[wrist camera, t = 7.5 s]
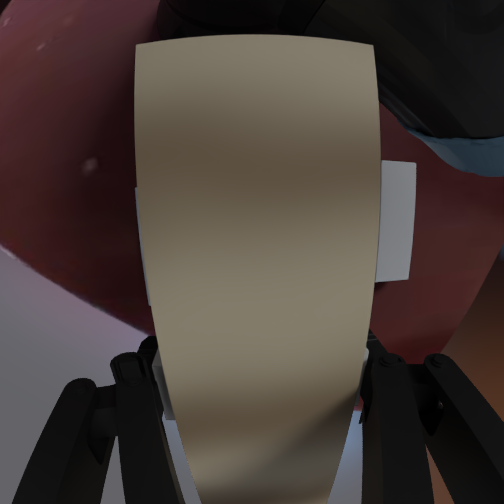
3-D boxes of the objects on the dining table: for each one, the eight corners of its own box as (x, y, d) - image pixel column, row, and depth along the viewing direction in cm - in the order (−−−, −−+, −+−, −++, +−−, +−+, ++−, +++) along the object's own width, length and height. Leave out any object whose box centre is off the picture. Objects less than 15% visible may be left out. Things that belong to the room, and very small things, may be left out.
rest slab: (368, 160, 30) (381, 160, 27) (401, 162, 30) (416, 163, 27) (364, 272, 33) (375, 282, 30) (395, 269, 33) (408, 279, 30)
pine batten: (175, 93, 12) (135, 45, 6) (316, 90, 12) (373, 44, 6) (214, 463, 18) (213, 534, 12) (301, 457, 18) (318, 526, 12)
